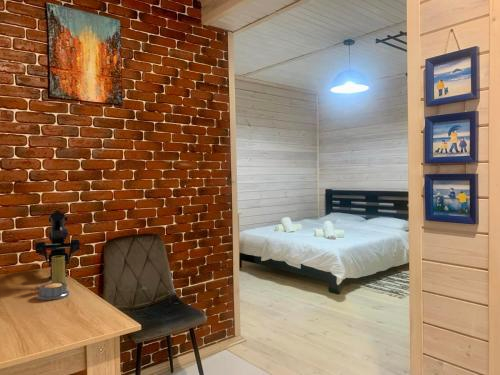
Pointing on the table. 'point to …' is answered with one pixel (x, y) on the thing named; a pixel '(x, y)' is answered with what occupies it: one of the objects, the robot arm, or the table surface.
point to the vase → (58, 269)
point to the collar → (52, 292)
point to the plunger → (53, 285)
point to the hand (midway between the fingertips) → (58, 261)
